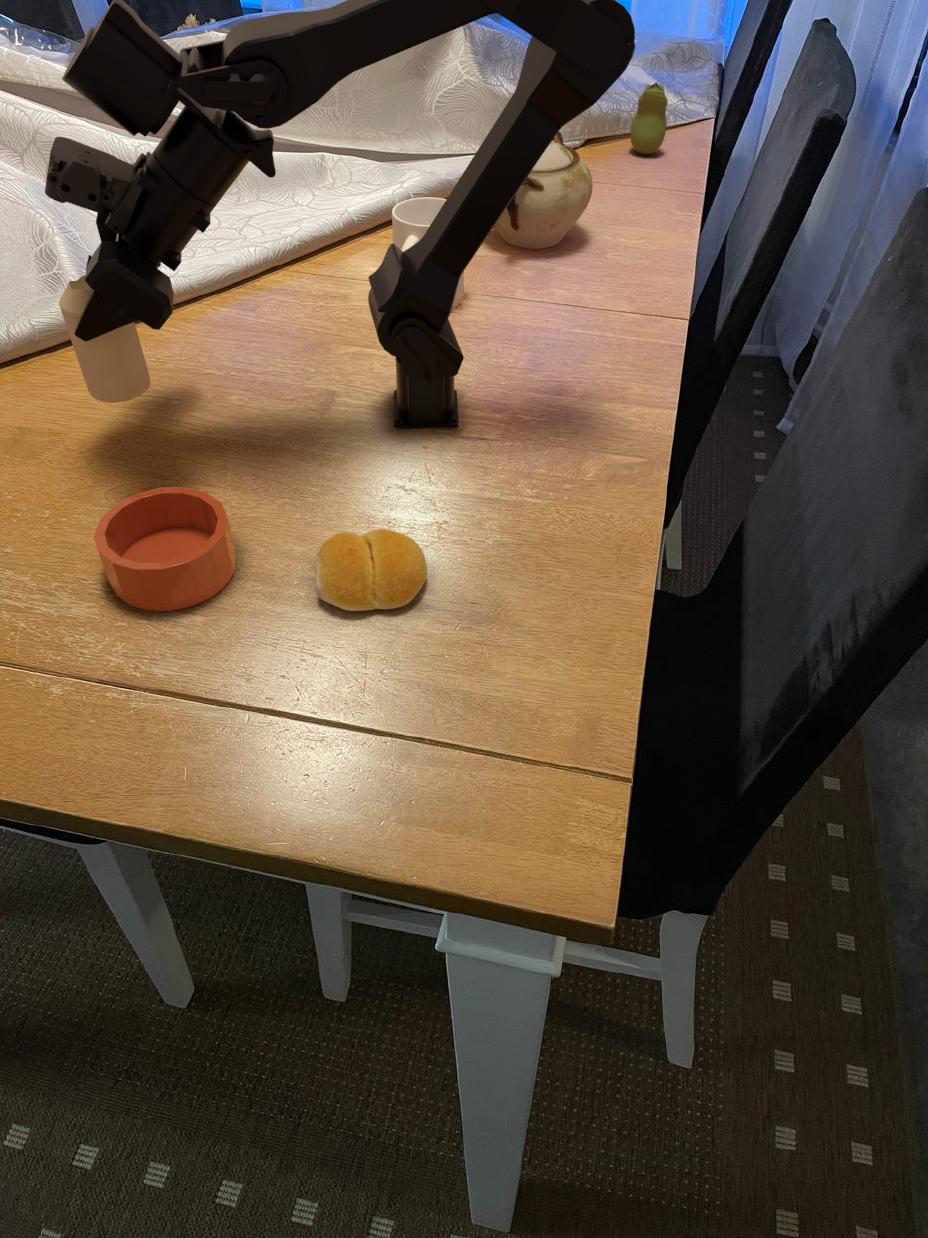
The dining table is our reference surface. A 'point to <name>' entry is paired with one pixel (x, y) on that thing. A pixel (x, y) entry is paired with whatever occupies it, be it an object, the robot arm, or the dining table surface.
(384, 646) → the dining table surface
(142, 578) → the round reddish orange bowl
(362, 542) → the bread roll
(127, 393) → the candle
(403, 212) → the mug
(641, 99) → the pear
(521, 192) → the sugar bowl
